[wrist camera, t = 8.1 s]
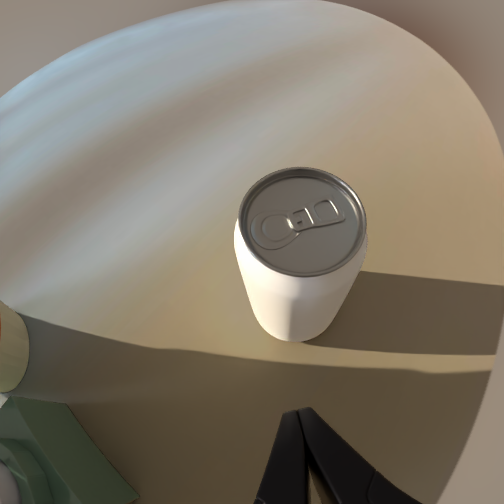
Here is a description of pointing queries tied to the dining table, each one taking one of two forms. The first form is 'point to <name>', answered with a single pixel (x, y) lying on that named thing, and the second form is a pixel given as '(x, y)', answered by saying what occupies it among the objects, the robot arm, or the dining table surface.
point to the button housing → (56, 457)
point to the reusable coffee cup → (12, 348)
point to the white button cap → (8, 486)
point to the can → (299, 249)
